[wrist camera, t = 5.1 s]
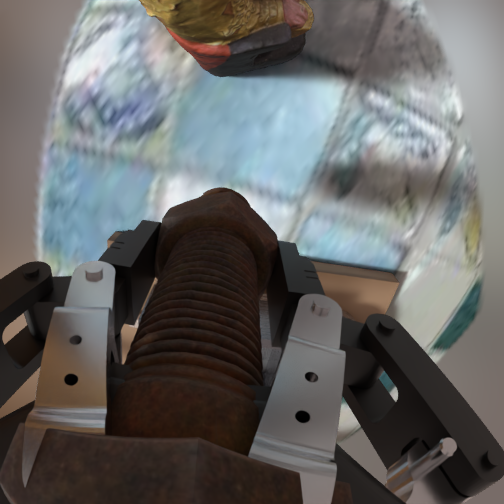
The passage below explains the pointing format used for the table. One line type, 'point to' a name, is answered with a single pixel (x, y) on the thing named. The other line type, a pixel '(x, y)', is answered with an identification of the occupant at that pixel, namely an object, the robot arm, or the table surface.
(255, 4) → the statue
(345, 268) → the wooden cutting board
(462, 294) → the table surface
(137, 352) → the bolt
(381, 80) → the table surface
